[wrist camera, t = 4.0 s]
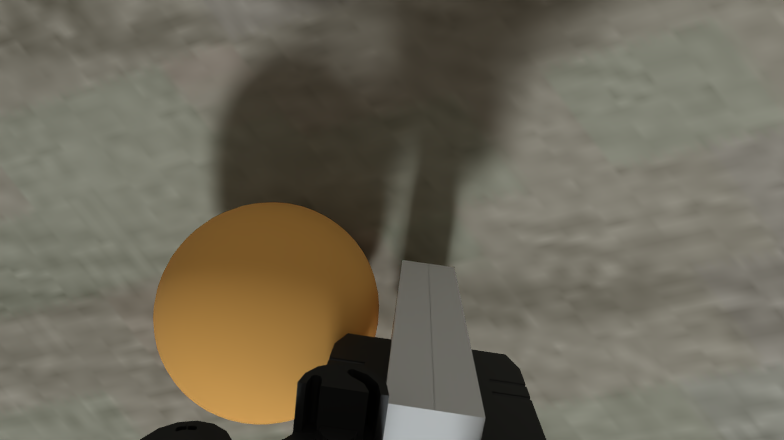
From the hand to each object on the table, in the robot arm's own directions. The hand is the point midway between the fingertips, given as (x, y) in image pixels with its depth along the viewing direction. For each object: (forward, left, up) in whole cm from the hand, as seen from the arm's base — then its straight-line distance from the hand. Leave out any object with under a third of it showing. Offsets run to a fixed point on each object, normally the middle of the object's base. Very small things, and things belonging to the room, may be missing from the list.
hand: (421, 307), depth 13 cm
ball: (-4, 0, +2) cm, 4 cm away
